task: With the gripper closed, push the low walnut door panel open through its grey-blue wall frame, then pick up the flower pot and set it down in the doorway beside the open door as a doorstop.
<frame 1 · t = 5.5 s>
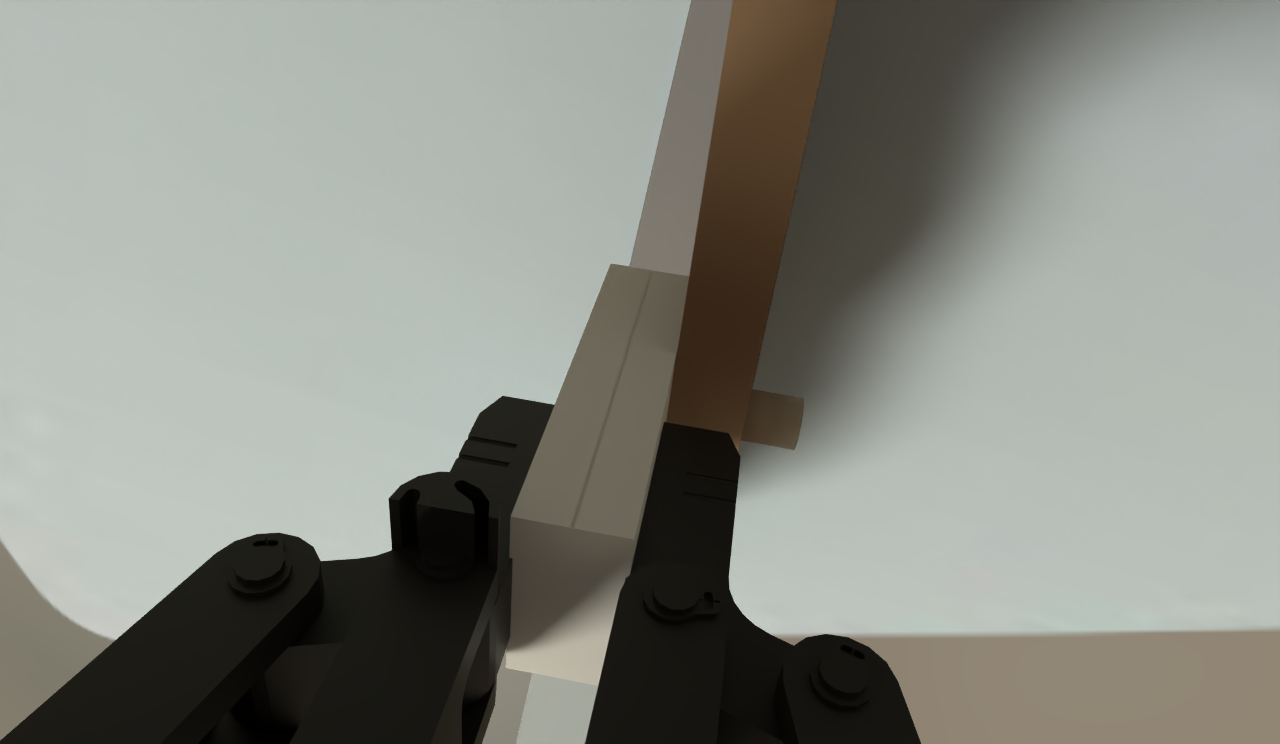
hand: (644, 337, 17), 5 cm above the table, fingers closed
door: (778, 192, 16), point 4 cm above the table, hinge at 5.8°, touching gripper
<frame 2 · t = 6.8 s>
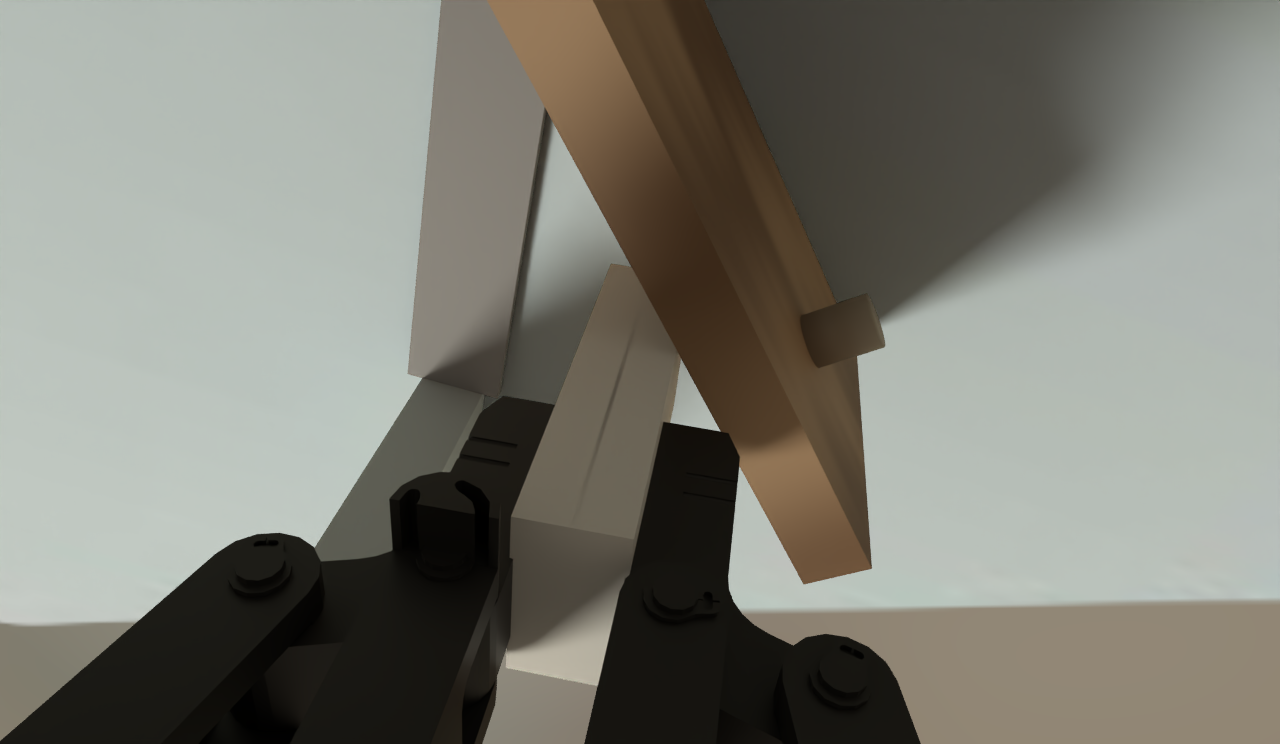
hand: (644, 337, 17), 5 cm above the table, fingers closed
door: (706, 114, 15), point 4 cm above the table, hinge at 39.4°, touching gripper
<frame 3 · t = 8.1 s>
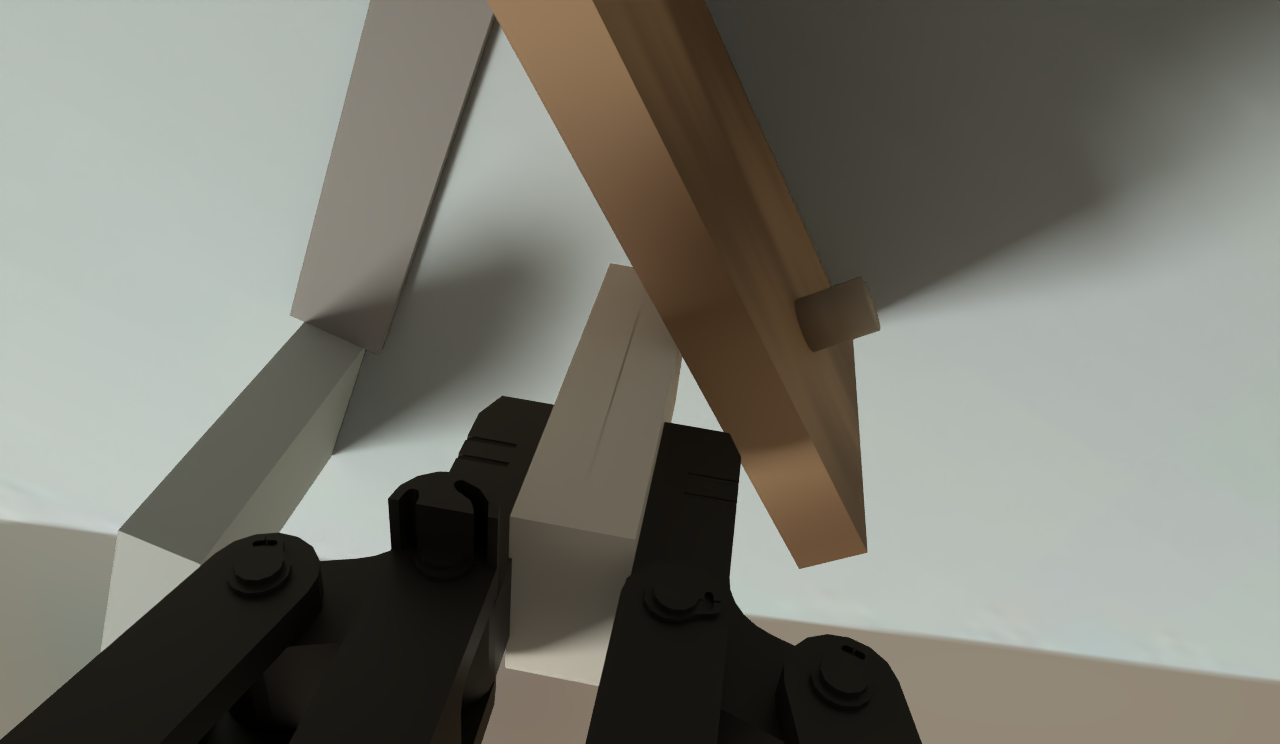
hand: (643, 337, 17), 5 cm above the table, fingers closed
door: (699, 96, 15), point 4 cm above the table, hinge at 51.5°, touching gripper
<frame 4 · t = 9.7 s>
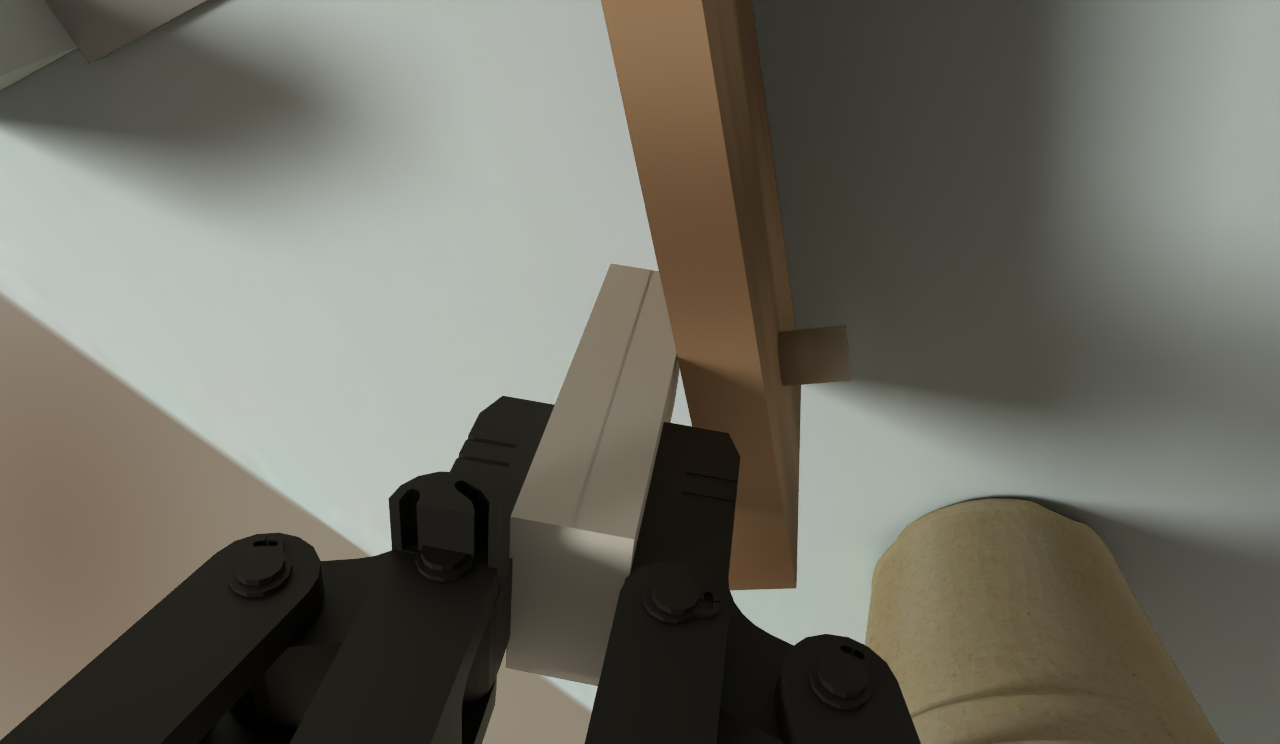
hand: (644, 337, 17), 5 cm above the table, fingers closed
door: (744, 117, 15), point 4 cm above the table, hinge at 77.6°, touching gripper
flower pot: (985, 576, 25), on the table
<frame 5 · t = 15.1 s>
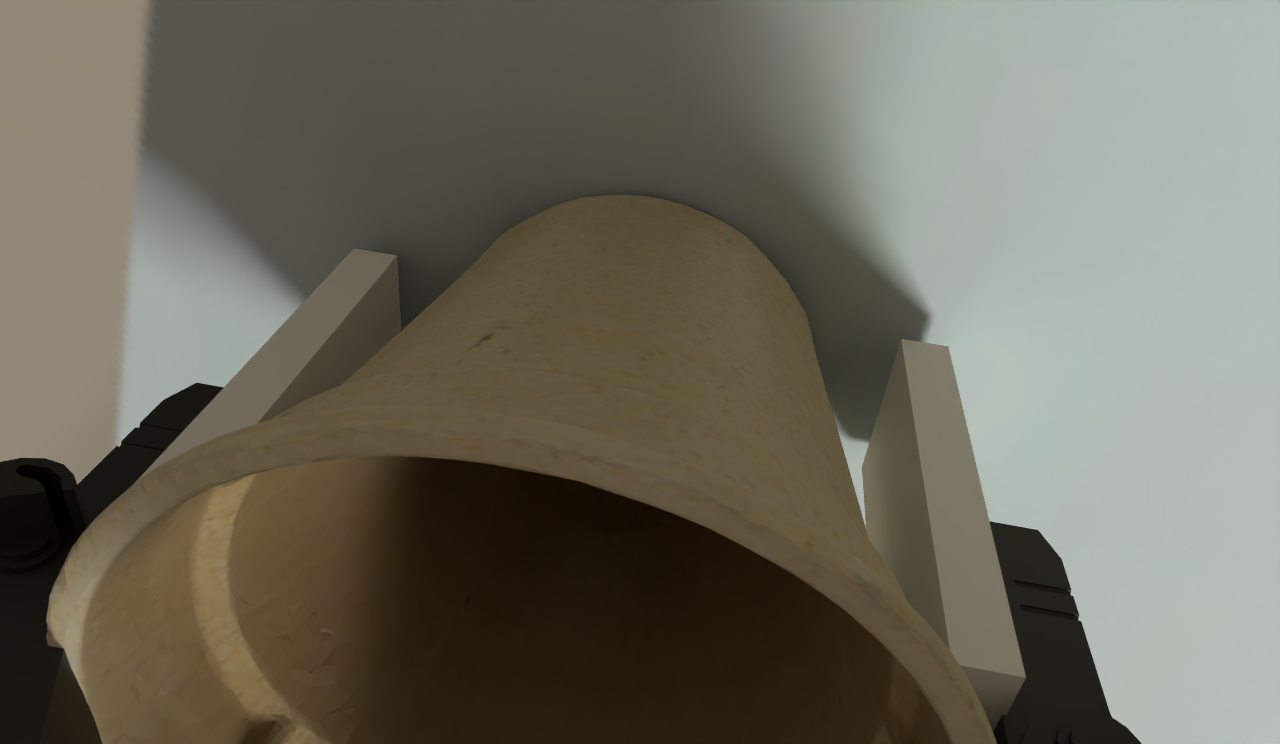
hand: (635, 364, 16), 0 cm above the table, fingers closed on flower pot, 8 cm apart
flower pot: (640, 346, 16), on the table, touching gripper
when the fingers open (1 cm above the table, at t = 21.6 s): flower pot moves 4 cm, on the table.
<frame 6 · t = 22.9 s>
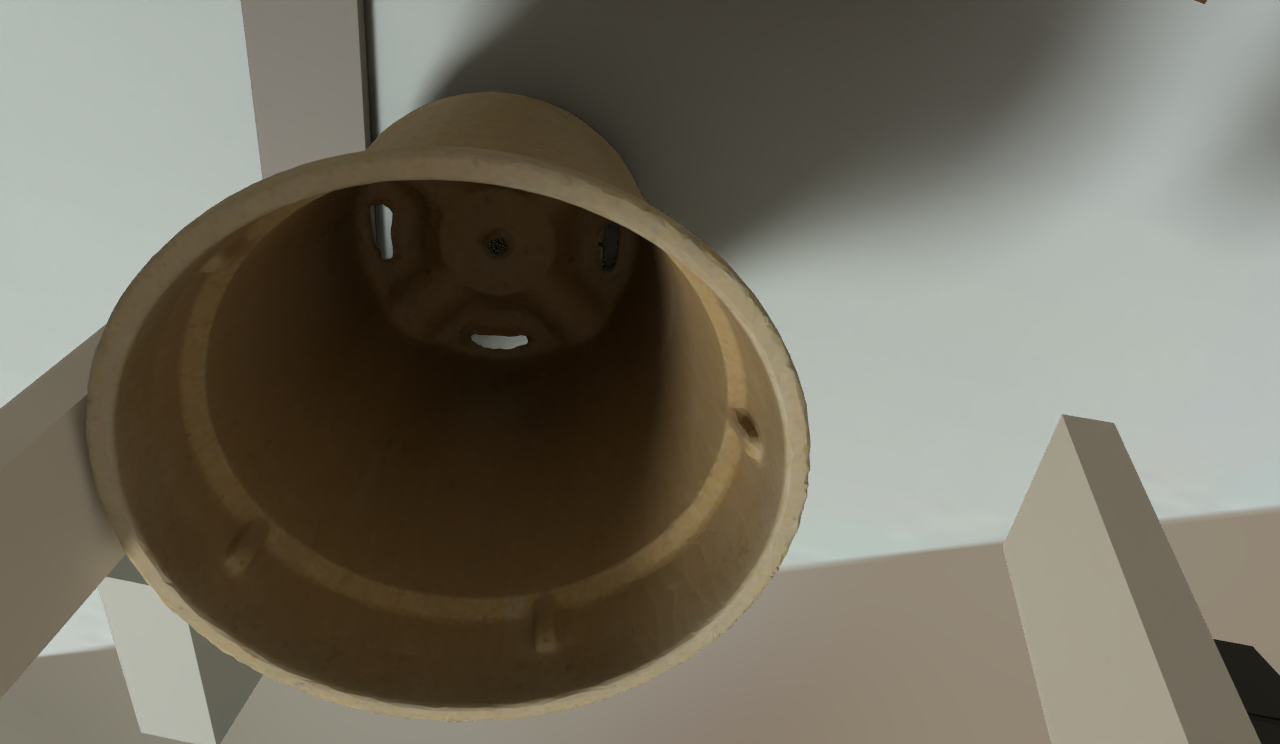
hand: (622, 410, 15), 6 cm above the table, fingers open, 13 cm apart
flower pot: (504, 229, 20), on the table
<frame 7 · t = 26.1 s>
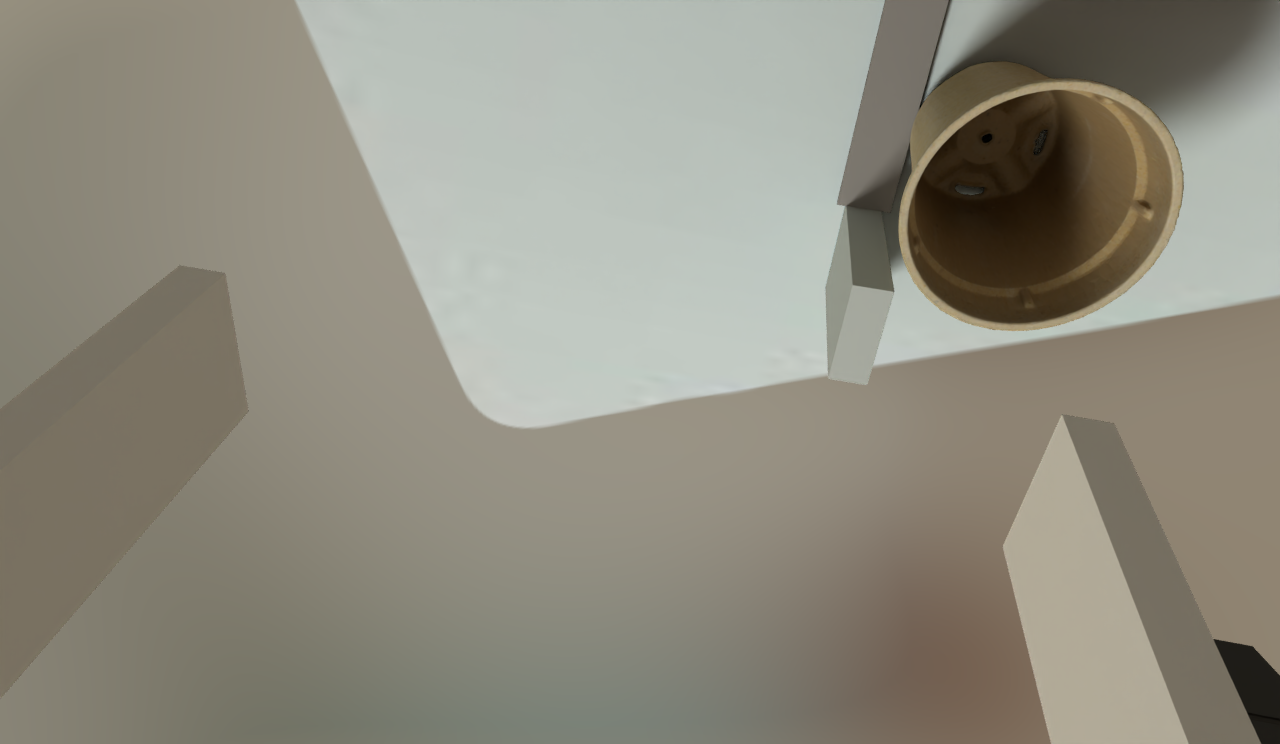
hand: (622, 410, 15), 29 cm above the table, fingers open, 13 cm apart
flower pot: (985, 131, 40), on the table, touching wall
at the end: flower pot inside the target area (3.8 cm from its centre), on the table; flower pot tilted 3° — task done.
